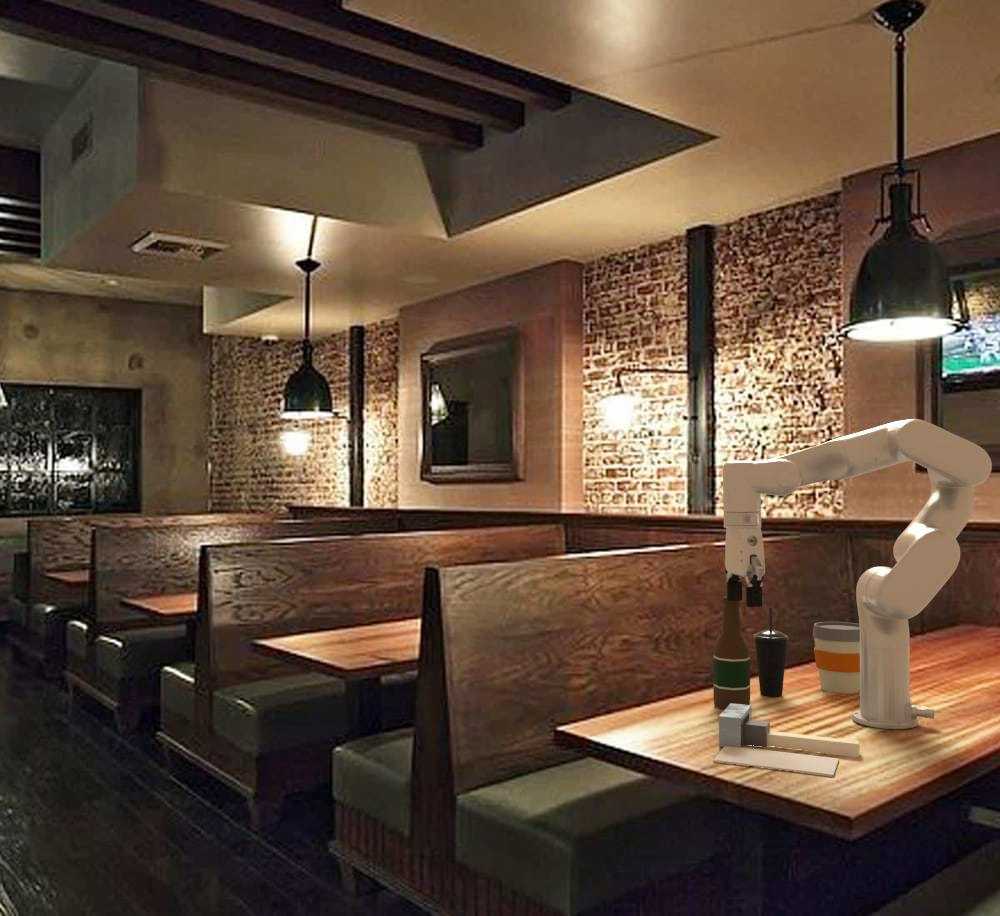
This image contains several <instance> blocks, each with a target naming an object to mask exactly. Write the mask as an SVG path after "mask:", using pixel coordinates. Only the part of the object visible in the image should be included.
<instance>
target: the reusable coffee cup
mask: <svg viewBox="0 0 1000 916" xmlns="http://www.w3.org/2000/svg"><path fill="white" fill-rule="evenodd" d="M812 637H813V640H814V648H813V652H814V659H815V666H816V668H817V669H818V676H819V683H820V689H821V690H822V691H825V692H829V693H834V694H843V695H845V694H847V695H848V694H850V695H851V694H860V628H859V623H855V622H848V621H847V622H846V621H820V622H819V621H818V622H815V623H814V624H813V629H812Z"/></svg>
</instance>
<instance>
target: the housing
mask: <svg viewBox="0 0 1000 916" xmlns="http://www.w3.org/2000/svg"><path fill="white" fill-rule="evenodd" d="M752 714H753V713H752V705H751V704H750V705H744V704H734V703H730V705H729V706H728V707H727V708H726V709H725V710H723V711H722V712H721V713H720V714H719V715H718V748H719V747H724V746H729V747H738V748H741V747H744V745H743V722H744V720H745V719H751V720H753V719H752V716H753V715H752Z"/></svg>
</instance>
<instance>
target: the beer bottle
mask: <svg viewBox="0 0 1000 916" xmlns="http://www.w3.org/2000/svg"><path fill="white" fill-rule="evenodd" d="M722 602H723V610H722V611H723V613H722V625H721V626H722V628H721V633H720V635H719V636H718V637H717V639H716V641H715V643H714V646H713V655H712V657H713V660H712V661H713V662H712V663H713V666H712V667H713V670H712V671H713V679H712V681H713V687H712V688H713V705H714V707H716V708H717V707H718V708H717V709H719V708H720V710H723V709H726V708H727V707H728V706H729V705H730V703H734V704H744V705H751V654H750V653H751V652H750V647H749V645H748V641H747V640H746V638H745V637H744V635H743V633H742V629H741V618H740V617H741V616H740V602H741V601H728V600H727V595H726V596H723V598H722Z"/></svg>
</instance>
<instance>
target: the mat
mask: <svg viewBox="0 0 1000 916" xmlns="http://www.w3.org/2000/svg"><path fill="white" fill-rule="evenodd" d="M712 760H713V763H716V764H717V763H719V764H725V763H726V765H733V764H736V765H735V766H741V765H743V766H742V767H749V766H753V767H752V768H757V767H761V768H760V769H765V768H770V769H769V770H773V769H779V770H778V771H781V770H785V771H784V772H789V771H793V772H792V773H797V772H801V773H800V774H805V773H807V774H806V775H815V776H820V777H821V776H822V777H830V778H834V776H835V773H836V770H837V767H838V764H839V762H840V758H836V757H827V756H820V755H810V754H803V753H795V752H785V751H778V750H777V751H776V750H769V749H768V750H767V749H762V748H761V749H760V748H754V747H753V748H752V747H744V746H743V747H741V748H738V747H729V746H724V747H723V748H721V750H720V751H719V752H718V754H717V755H716V756H715V757H714V759H712ZM754 766H755V767H754ZM762 767H763V768H762Z"/></svg>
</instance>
